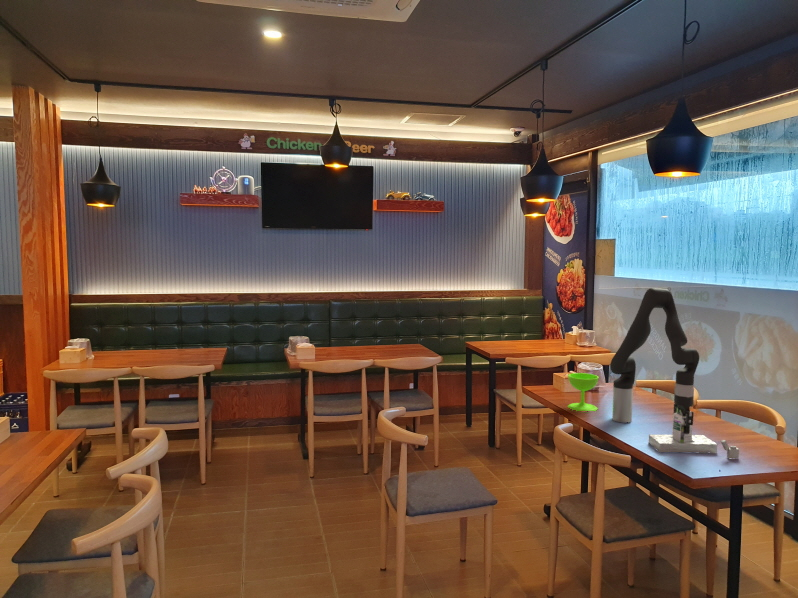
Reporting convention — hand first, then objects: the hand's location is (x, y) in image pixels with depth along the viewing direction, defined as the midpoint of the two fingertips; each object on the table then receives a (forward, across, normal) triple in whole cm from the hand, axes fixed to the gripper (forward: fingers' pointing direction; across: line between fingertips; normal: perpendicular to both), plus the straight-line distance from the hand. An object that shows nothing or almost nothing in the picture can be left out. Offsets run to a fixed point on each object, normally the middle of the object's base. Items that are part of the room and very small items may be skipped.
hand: (682, 430), depth 248 cm
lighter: (+8, +12, +14) cm, 20 cm away
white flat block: (+8, 0, 0) cm, 8 cm away
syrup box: (+7, 0, 0) cm, 7 cm away
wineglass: (+8, -63, -26) cm, 69 cm away
